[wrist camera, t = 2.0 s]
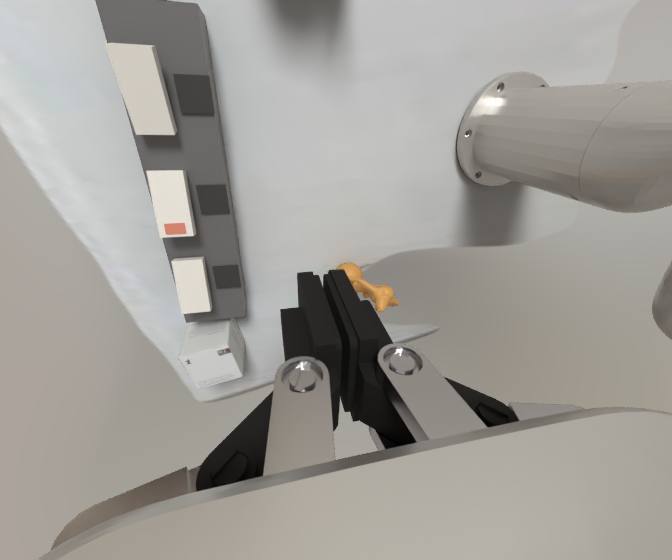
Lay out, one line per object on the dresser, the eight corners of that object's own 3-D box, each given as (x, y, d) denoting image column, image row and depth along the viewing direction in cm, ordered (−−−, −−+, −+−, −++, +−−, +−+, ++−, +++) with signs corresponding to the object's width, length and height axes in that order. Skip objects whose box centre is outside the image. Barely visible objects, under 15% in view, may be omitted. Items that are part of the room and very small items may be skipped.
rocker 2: (185, 170, 28) (182, 170, 27) (196, 233, 30) (193, 236, 29) (150, 171, 28) (145, 170, 27) (163, 235, 30) (159, 237, 29)
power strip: (191, -84, 24) (179, -118, 20) (247, 298, 42) (246, 317, 38) (87, -100, 22) (54, -139, 19) (192, 304, 40) (185, 324, 37)
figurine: (313, 267, 42) (331, 320, 32) (339, 233, 40) (367, 277, 30) (357, 293, 45) (386, 347, 35) (383, 262, 44) (421, 311, 34)
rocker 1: (154, 45, 23) (151, 47, 22) (177, 130, 27) (174, 135, 26) (110, 42, 22) (104, 44, 21) (139, 130, 26) (136, 134, 25)
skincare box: (205, 351, 45) (197, 391, 39) (188, 320, 41) (175, 358, 35) (246, 340, 45) (244, 377, 39) (232, 308, 42) (227, 344, 36)
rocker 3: (204, 256, 33) (202, 259, 32) (212, 307, 35) (210, 311, 34) (174, 258, 32) (171, 261, 31) (184, 309, 34) (181, 314, 33)
